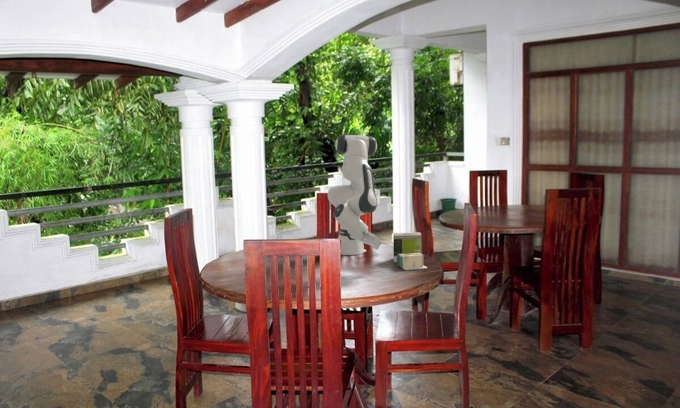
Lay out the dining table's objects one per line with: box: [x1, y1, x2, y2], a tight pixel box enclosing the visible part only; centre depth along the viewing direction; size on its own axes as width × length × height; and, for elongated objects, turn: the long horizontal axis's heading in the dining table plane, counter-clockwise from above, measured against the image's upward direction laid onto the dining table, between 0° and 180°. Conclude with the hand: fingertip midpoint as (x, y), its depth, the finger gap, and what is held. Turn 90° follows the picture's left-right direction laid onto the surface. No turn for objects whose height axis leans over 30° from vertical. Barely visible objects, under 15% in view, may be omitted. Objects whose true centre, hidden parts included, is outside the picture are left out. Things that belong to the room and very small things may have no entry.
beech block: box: [396, 253, 425, 269], centre depth 303 cm, size 6×6×12 cm
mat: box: [402, 264, 428, 271], centre depth 303 cm, size 11×12×1 cm
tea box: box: [392, 231, 423, 263], centre depth 316 cm, size 15×10×15 cm, turn 84°
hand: (376, 248), depth 295 cm, fingers closed
